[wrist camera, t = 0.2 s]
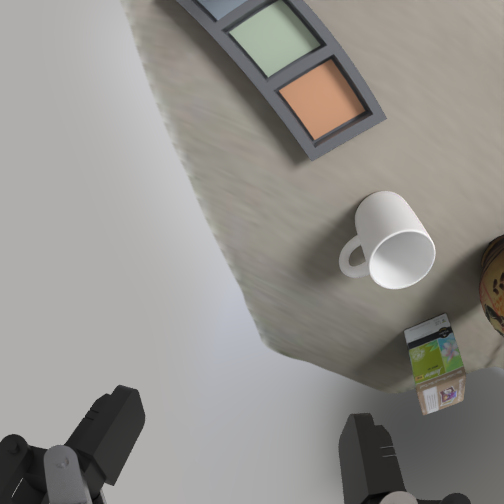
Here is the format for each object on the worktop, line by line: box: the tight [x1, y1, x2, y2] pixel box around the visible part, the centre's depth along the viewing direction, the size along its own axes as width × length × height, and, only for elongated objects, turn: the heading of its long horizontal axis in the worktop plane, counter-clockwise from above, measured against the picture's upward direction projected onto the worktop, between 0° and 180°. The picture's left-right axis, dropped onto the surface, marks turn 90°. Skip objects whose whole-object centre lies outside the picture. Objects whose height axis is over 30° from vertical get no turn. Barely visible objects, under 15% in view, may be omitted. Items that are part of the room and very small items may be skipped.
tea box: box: [404, 313, 466, 415], centre depth 45 cm, size 15×10×15 cm, turn 33°
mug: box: [339, 191, 435, 289], centre depth 34 cm, size 12×8×10 cm
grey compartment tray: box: [176, 0, 387, 161], centre depth 24 cm, size 29×10×2 cm, turn 37°
